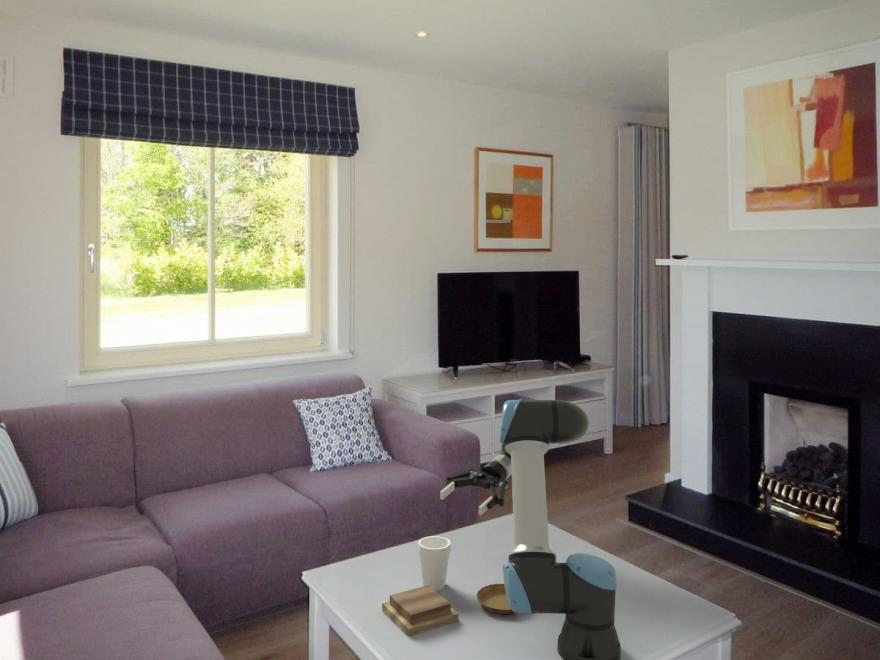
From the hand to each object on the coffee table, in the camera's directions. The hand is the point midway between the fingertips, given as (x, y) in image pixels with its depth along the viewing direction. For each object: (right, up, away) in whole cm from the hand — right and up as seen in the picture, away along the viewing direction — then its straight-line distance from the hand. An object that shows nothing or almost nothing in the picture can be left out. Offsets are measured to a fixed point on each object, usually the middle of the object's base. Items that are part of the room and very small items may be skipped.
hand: (460, 503), depth 213 cm
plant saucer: (+12, -25, -13) cm, 31 cm away
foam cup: (-8, -24, -2) cm, 25 cm away
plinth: (-11, -25, -19) cm, 34 cm away
